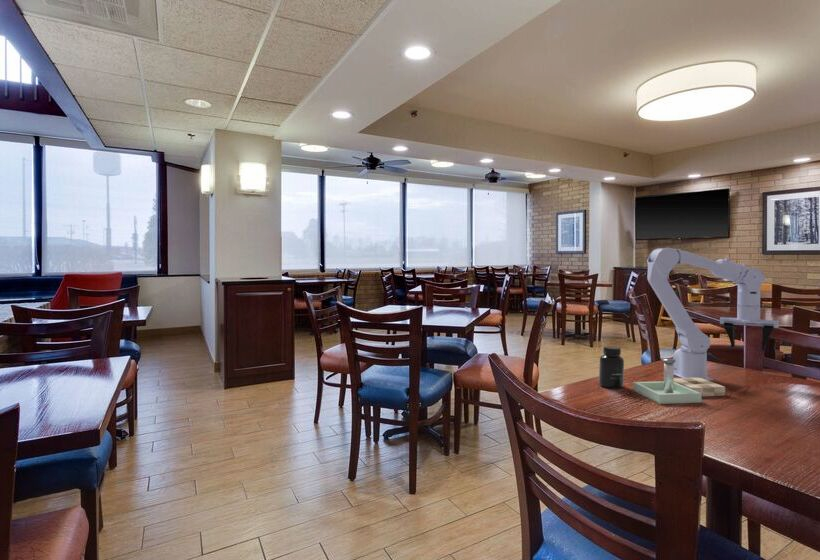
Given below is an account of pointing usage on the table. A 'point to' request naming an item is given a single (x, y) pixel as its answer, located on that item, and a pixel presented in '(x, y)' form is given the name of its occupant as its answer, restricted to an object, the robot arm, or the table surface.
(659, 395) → the green tray
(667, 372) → the steel pin
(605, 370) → the supplement bottle
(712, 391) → the birch block
